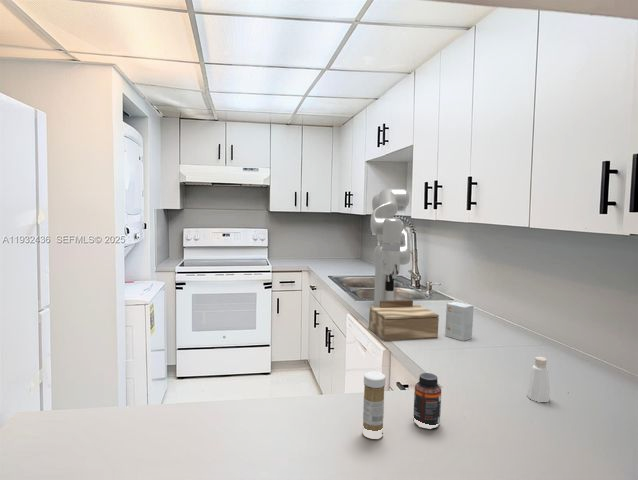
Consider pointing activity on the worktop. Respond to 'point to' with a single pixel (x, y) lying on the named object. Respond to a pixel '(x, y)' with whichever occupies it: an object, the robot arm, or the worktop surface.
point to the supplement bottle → (427, 399)
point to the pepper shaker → (539, 381)
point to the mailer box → (403, 327)
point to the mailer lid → (402, 310)
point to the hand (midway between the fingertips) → (389, 290)
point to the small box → (459, 321)
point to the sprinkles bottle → (373, 401)
